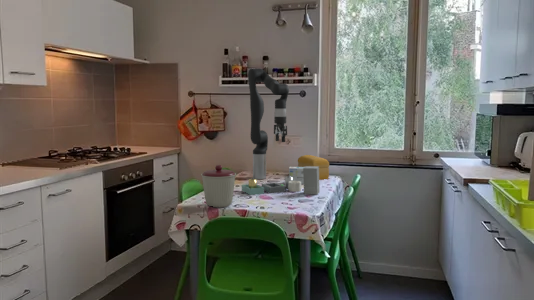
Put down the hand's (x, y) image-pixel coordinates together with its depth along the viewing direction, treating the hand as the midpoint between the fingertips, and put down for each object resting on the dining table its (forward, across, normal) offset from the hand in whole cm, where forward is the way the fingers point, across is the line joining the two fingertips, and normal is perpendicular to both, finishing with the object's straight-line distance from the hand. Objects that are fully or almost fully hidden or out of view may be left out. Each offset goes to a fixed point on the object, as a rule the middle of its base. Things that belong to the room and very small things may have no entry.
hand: (280, 141), depth 269 cm
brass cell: (+28, -12, +24) cm, 38 cm away
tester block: (+28, -13, +11) cm, 33 cm away
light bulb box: (+28, +1, -13) cm, 31 cm away
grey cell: (+28, -10, -1) cm, 30 cm away
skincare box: (+28, -29, -6) cm, 41 cm away
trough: (+28, -12, +24) cm, 39 cm away
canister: (+28, -34, +52) cm, 68 cm away
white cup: (+28, -18, -1) cm, 33 cm away
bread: (+28, +18, -35) cm, 48 cm away
